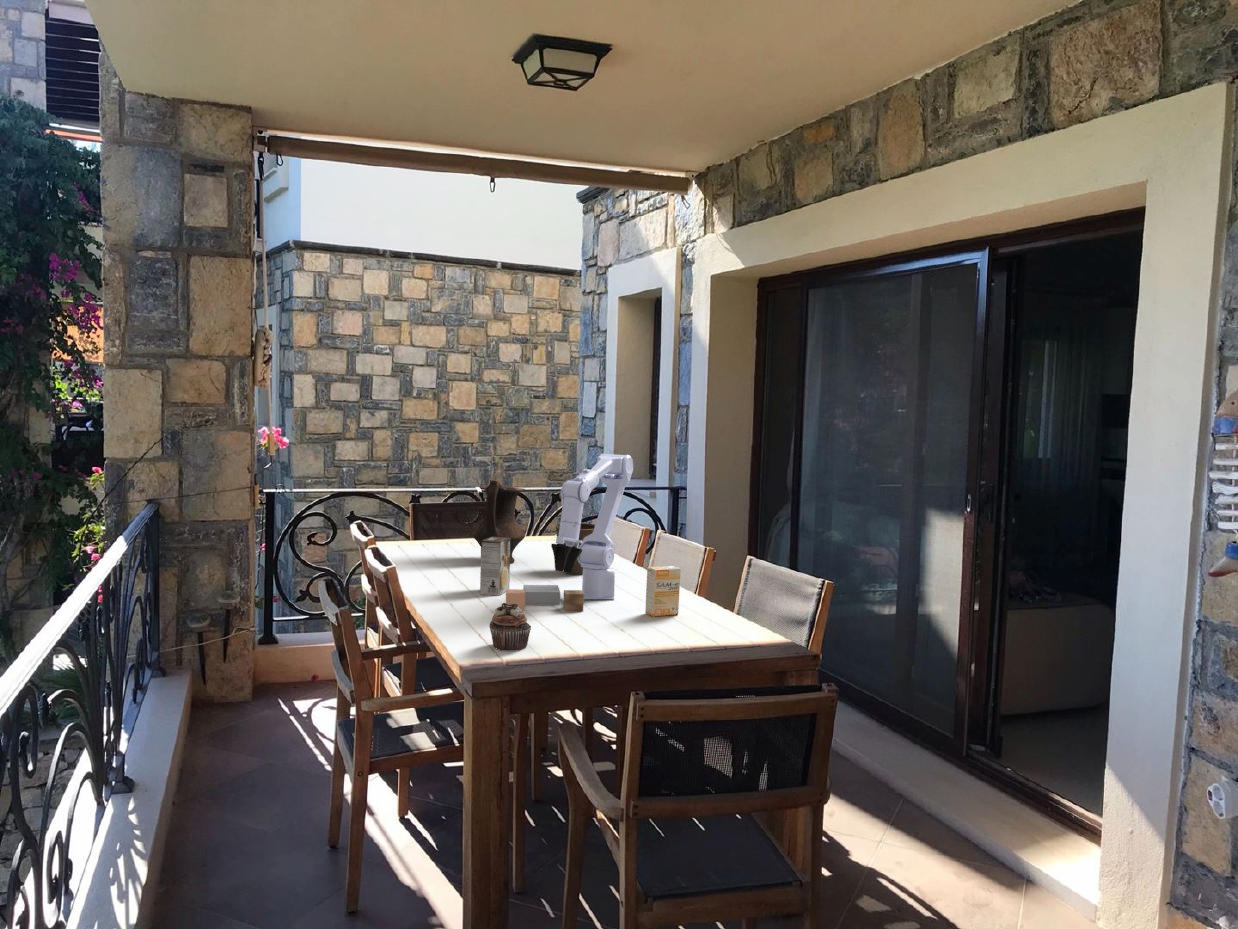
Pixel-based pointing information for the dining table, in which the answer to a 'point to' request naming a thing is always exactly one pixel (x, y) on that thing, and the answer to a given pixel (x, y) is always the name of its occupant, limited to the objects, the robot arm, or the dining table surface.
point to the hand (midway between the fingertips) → (563, 572)
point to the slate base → (542, 594)
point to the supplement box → (662, 591)
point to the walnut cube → (573, 601)
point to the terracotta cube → (516, 598)
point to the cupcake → (509, 628)
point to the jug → (500, 515)
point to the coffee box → (495, 565)
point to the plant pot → (584, 531)
